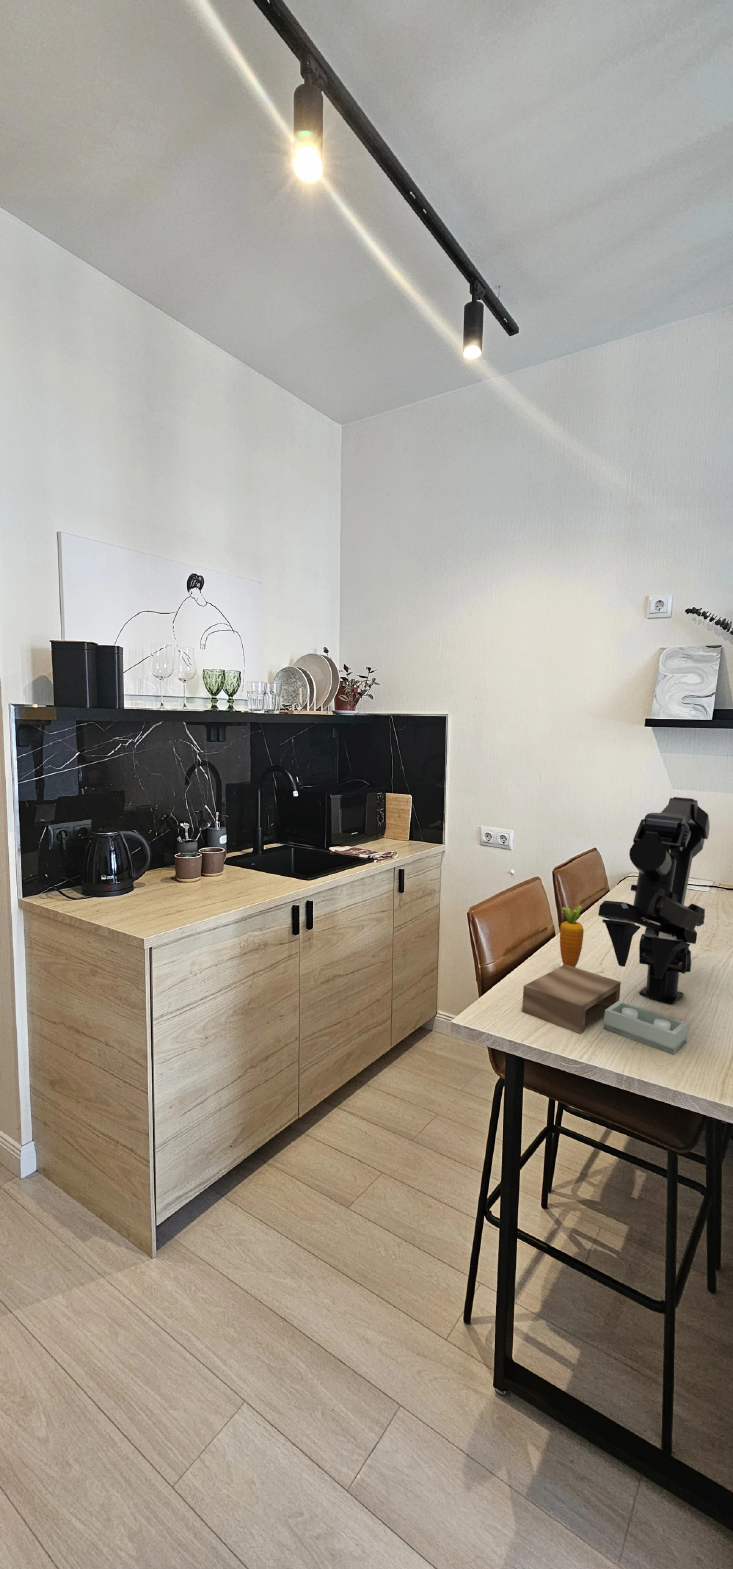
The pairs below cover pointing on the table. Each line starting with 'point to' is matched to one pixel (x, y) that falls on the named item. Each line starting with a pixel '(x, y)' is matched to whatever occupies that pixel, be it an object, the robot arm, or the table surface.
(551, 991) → the walnut shelf
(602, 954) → the table surface
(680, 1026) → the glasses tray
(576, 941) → the carrot
